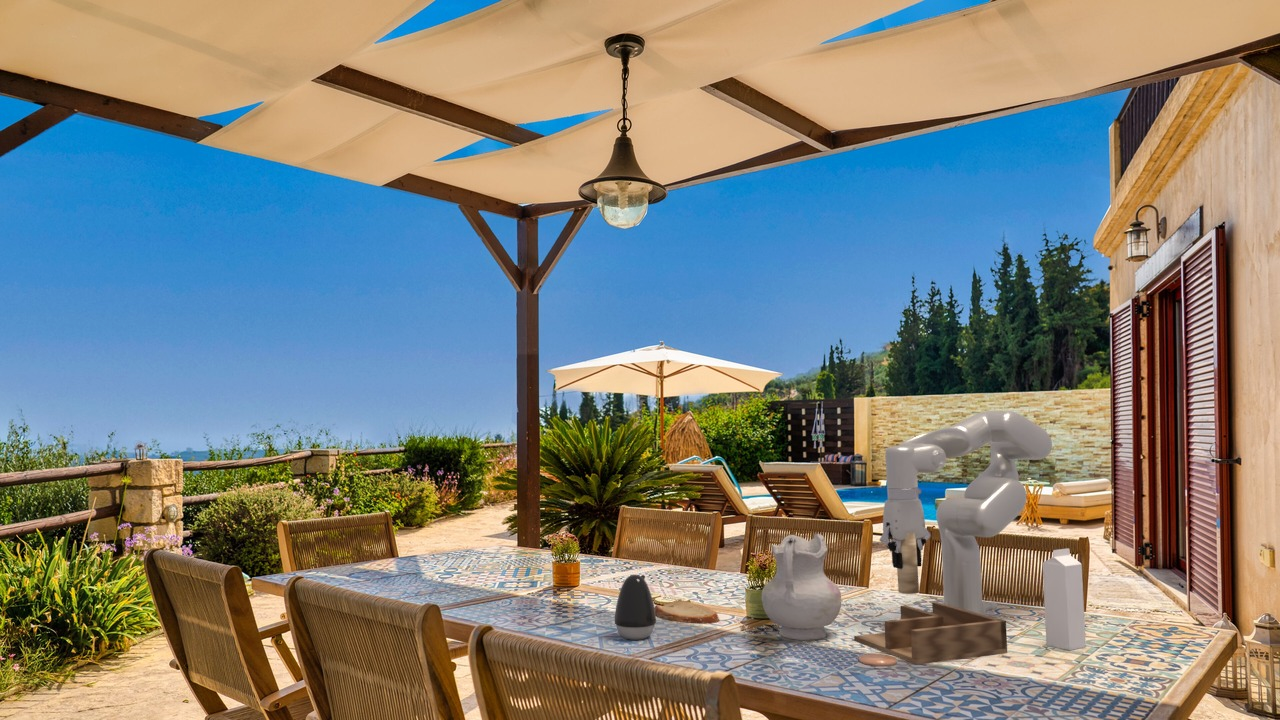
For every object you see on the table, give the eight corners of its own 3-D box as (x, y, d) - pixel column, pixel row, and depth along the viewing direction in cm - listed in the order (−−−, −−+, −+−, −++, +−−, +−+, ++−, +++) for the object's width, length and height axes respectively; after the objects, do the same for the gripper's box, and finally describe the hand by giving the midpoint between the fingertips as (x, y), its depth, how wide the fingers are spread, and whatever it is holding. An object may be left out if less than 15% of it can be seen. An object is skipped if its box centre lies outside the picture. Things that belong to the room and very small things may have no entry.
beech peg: (910, 589, 228) (907, 530, 229) (923, 592, 223) (919, 532, 224) (894, 591, 226) (890, 532, 227) (906, 594, 221) (903, 534, 222)
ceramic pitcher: (840, 652, 205) (845, 544, 207) (755, 643, 209) (761, 536, 211) (838, 631, 226) (843, 533, 228) (761, 623, 230) (767, 526, 232)
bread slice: (720, 624, 232) (720, 610, 233) (651, 625, 233) (651, 610, 233) (717, 610, 250) (717, 596, 251) (653, 611, 251) (653, 597, 251)
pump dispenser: (663, 634, 221) (662, 572, 222) (645, 644, 212) (644, 579, 213) (626, 631, 225) (625, 570, 226) (607, 640, 216) (607, 576, 217)
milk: (1086, 647, 203) (1082, 549, 204) (1069, 650, 200) (1065, 551, 201) (1062, 641, 208) (1058, 546, 210) (1045, 645, 205) (1041, 548, 207)
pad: (882, 655, 198) (882, 652, 198) (904, 663, 191) (904, 660, 191) (851, 658, 196) (851, 655, 196) (872, 667, 188) (872, 664, 188)
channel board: (938, 630, 221) (937, 602, 221) (1007, 652, 199) (1005, 621, 199) (854, 640, 212) (853, 610, 213) (916, 664, 190) (915, 631, 191)
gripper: (921, 491, 232) (925, 561, 231) (865, 496, 227) (870, 568, 225) (940, 493, 225) (944, 565, 224) (883, 498, 220) (887, 572, 218)
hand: (907, 566), depth 225 cm, fingers closed on beech peg, 5 cm apart
